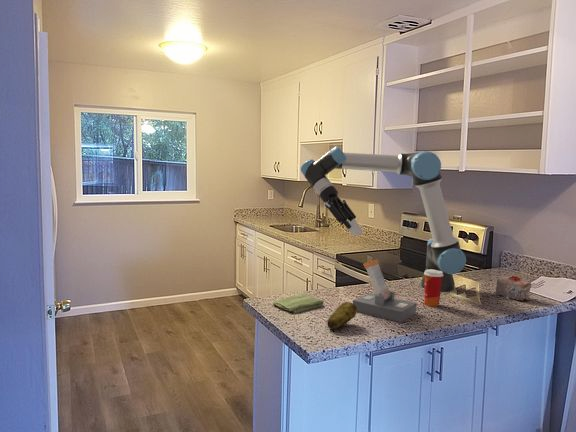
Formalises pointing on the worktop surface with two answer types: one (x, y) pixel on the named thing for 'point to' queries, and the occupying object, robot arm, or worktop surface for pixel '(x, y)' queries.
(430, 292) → the paper cup
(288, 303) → the washcloth
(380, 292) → the lever
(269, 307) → the worktop surface
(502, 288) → the food item
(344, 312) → the potato
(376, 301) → the switch block
